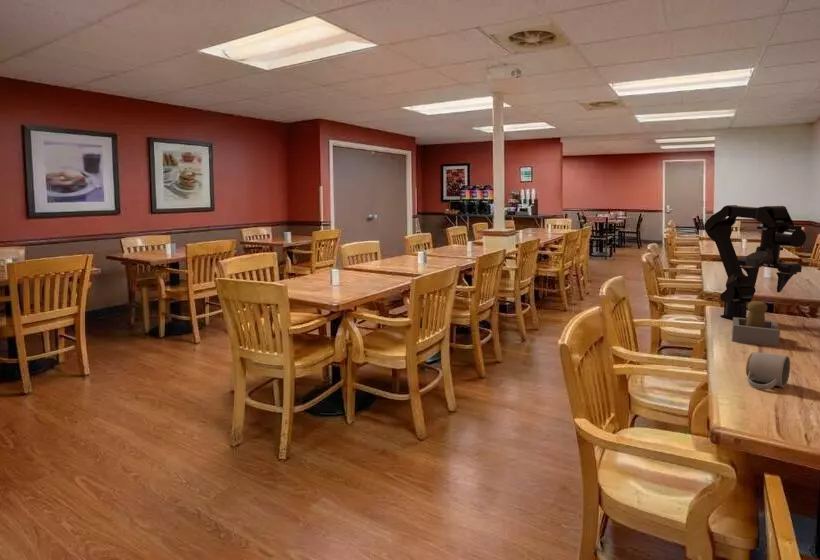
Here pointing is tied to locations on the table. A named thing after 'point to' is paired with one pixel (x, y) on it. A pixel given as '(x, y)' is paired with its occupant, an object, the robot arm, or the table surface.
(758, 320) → the cork
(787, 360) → the ceramic mug
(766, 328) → the holder block
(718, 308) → the table surface
